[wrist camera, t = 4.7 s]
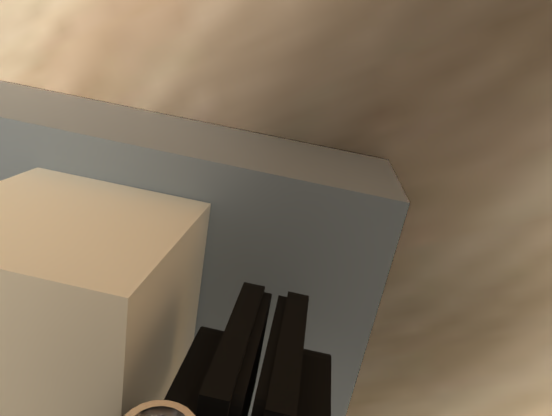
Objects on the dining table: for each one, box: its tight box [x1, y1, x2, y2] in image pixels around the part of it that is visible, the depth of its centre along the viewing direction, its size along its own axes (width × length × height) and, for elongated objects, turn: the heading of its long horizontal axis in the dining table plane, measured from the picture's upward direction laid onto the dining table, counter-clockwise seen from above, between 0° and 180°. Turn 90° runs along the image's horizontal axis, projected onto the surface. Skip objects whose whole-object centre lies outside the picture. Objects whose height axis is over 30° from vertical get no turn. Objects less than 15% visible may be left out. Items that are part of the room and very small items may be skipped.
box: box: [0, 81, 410, 416], centre depth 19 cm, size 26×22×5 cm
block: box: [0, 167, 211, 416], centre depth 11 cm, size 5×5×5 cm
